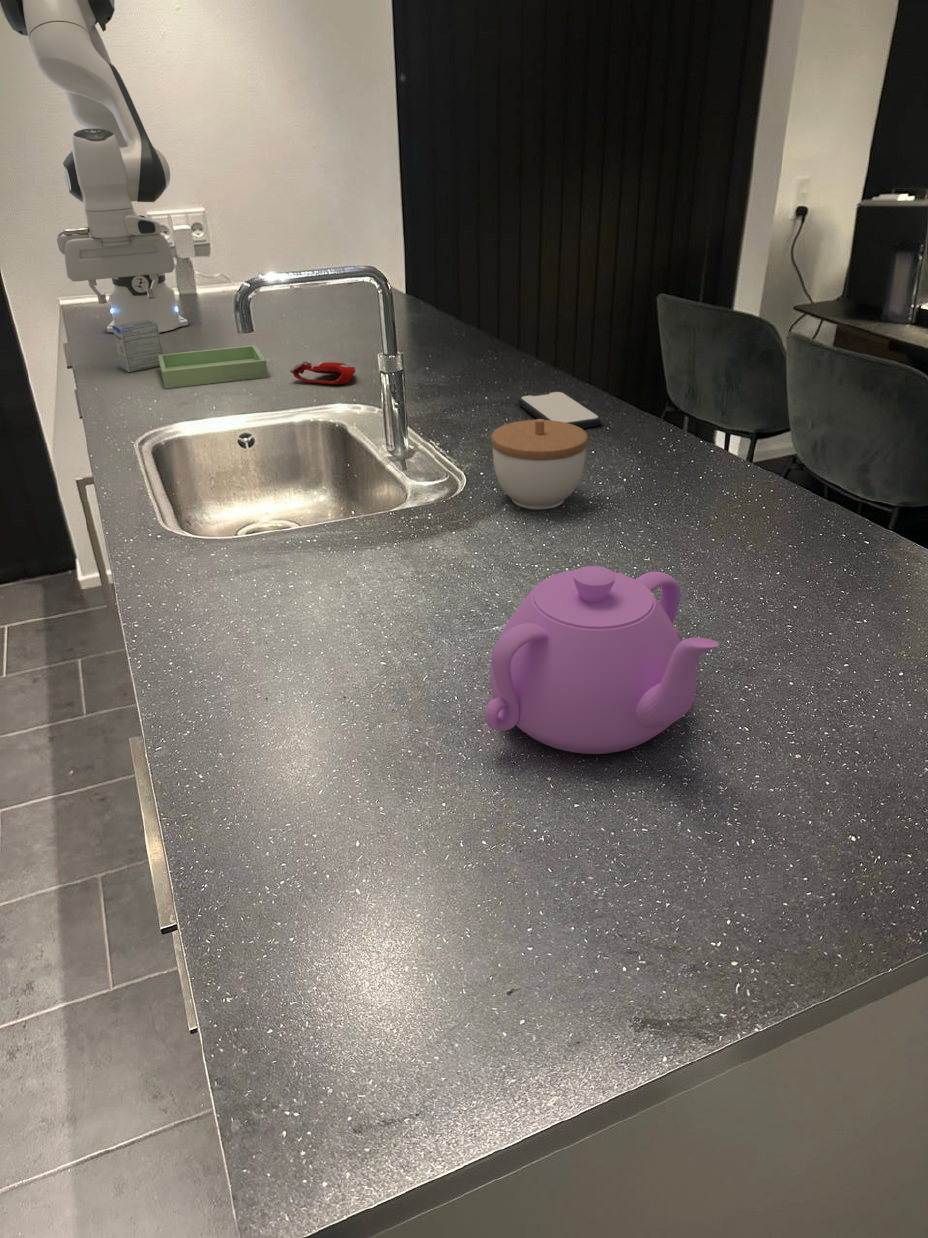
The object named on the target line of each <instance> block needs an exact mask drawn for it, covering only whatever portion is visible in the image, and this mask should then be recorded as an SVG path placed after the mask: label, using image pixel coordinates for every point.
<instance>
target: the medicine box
mask: <svg viewBox="0 0 928 1238" xmlns="http://www.w3.org/2000/svg"><path fill="white" fill-rule="evenodd" d="M112 328H113V332H114V333H113V332H112V333H113V336H114V342H115V346H116V350H117V355H118V360H119V365H120V368H121V369H122V370H123V371H125V372H127V373H131V372H136V371H141V370H146V369H151V368H157V367H160V365H159V359H158V355H161V354H164V352H163V346H162V340H161V336H160V332H159V329H158V324H156V323H154V322H152V321H149V320H145V321H139V322H133V323H127V324H121V325H116V326H113V327H112Z"/></svg>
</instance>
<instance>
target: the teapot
mask: <svg viewBox="0 0 928 1238" xmlns="http://www.w3.org/2000/svg"><path fill="white" fill-rule="evenodd" d="M660 587H661V590H660V596H659V600H658V599H657V598H656V596H655V594H654V593H653V592H654V591H655V590H657V589H658V588H660ZM680 601H681V587H680V585H679V582H678V581H677V580H676V579H675V578H674V577H673V576H671V575H669V574H667V573H665V572H662V571H655V570H654V571H649V572H646V573H644V574H642V575H640V576H639V577H637V578H636V579H635V578H633V577H631V576H630V575H629V576H628V575H626V574H623V573H619V572H615V571H613V570H611V569H609V568H607V567H604V566H599V565H587V566H582V567H579V568H577V569H572V570H566V571H561V572H558V573H556V574H553V575H551V576H549V577H546V578H544V579H542V580H541V581H540V582H539V583H538V584H536V586H535V587H534V588H533V589H531V591H529V593H528V594H527V595H525V597H524V598H523V600H522V602H520V603H519V605H518V606H517V608H516V609H515V611H514V612H513V613H512V615H511V616H510V618H509V619H508V621H507V622H506V624H505V626H504V628H503V629H502V631H501V633H500V636H499V638H498V639H497V641H496V643H495V645H494V647H493V649H492V653H491V665H490V674H489V676H490V678H489V685H490V691H491V694H492V697H493V698H492V699H491V700H490V701H489V702H488V703H487V704H486V705H485V708H484V711H483V717H484V721H485V723H486V725H487V727H489V728H490V729H493V730H495V731H501V732H502V731H503V732H506V731H510V730H512V729H513V728H515V726H516V727H517V728H518V729H519V730H521V731H522V732H523V733H525V734H526V735H527V736H529V737H531V738H532V739H534V740H536V741H537V742H539V743H541V744H544V745H546V746H549V747H551V748H554V749H557V750H560V751H565V752H570V753H575V754H582V755H583V754H585V755H586V754H587V755H601V754H612V753H618V752H622V751H627V750H629V749H632V748H635V747H637V746H639V745H642V744H644V743H645V742H647V741H649V740H651V739H653V738H654V737H656V736H657V735H659V734H661V733H663V731H665V730H667V728H668V727H670V726H671V725H672V724H674V723H676V722H677V721H678V720H680V719H681V718H683V717H684V716H685V715H686V714H687V713H688V711H689V710H690V708H691V707H692V706H693V704H694V700H695V697H696V694H697V684H698V683H697V673H698V672H697V671H698V670H697V669H698V662H699V660H700V658H701V656H702V655H703V654H704V652H708V651H709V650H713V649H716V648H717V647H719V646H720V643H719V642H718V641H716V640H713V639H709V638H705V637H689V638H685V639H683V640H682V636H681V634H680V632H679V630H678V629H677V627H675V626H674V622H675V619H676V616H677V613H678V610H679V606H680Z"/></svg>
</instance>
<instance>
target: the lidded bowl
mask: <svg viewBox="0 0 928 1238" xmlns="http://www.w3.org/2000/svg"><path fill="white" fill-rule="evenodd" d="M588 442H589V436H588V433H587V432H586V430H584V428H583V429H582V428H580V427H578V426H575V425H572V424H569V423H565V422H560V421H552V420H544V419H537V418H536V419H528V420H526V419H525V420H518V421H513V422H509V423H506V424H503V425H501V426H499V427H497V428H495V430H493V432H492V434H491V446H492V463H493V471H494V474H495V478H496V480H497V483H498V485H499V486H500V488H501V490H502V491H503V492H504V494H506V495H507V496H508V498H510V499H511V502H512V503H513V504H515V505H516V506H518V507H520V508H523V509H528V510H549V509H550V510H551V509H554V508H557V507H559V506H561V505H562V504H564V502H565V500H566V499H567V498H569V496H570V495H571V494H572V493H573V492H575V490H576V488H577V487H578V485H579V484H580V482H581V480H582V477H583V473H584V470H585V463H586V457H587V448H588Z"/></svg>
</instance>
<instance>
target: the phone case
mask: <svg viewBox="0 0 928 1238" xmlns="http://www.w3.org/2000/svg"><path fill="white" fill-rule="evenodd" d="M518 405H519V406H520V407H521V408H522V409H524V410H525V411H526V412H528V413H529V414H530V415H532V416H533V417H535V418H536V419H544V420H552V421H560V422H565V423H569V424H572V425H575V426H578V427H580V428H582V429H583V430H584V429H589V428H595V427H599V426H600V425H601V417H600V416H599V415H598V414H596V413H595V412H593V411H592V410H590V409H589V408H587V407H586V406H584V405H583V404H581V403H580V402H578V401H576V400H575V399H574V398H572V397H571V396H569V395H568V394H566V393H565V392H562V391H550V392H544V393H537V394H529V395H522V396H520V397H519V398H518Z"/></svg>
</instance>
